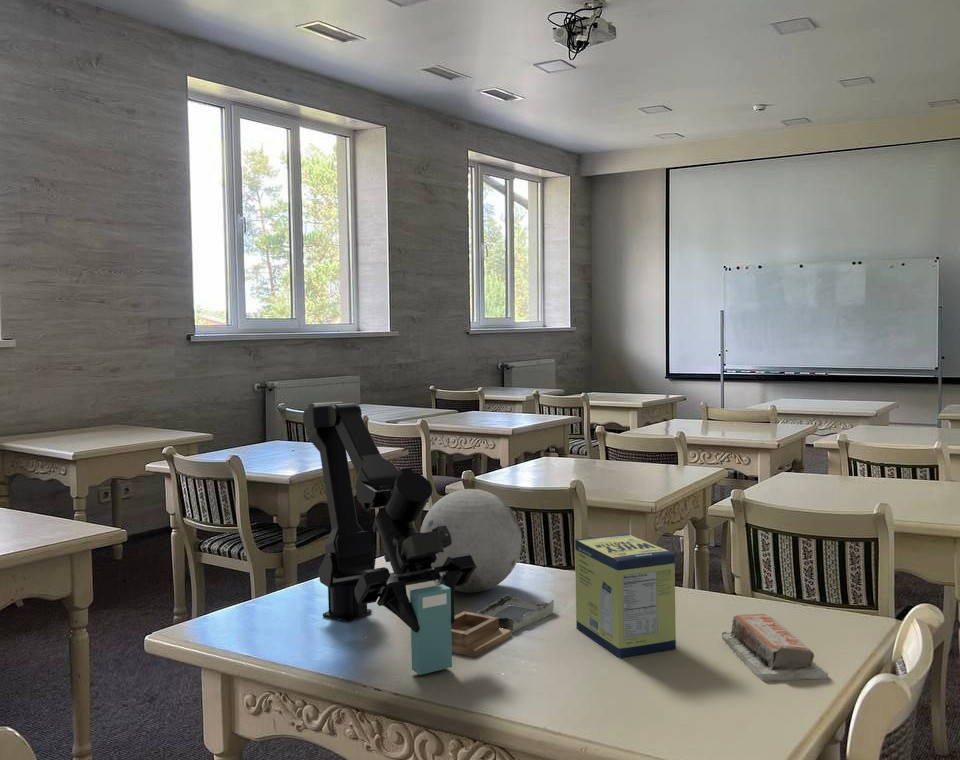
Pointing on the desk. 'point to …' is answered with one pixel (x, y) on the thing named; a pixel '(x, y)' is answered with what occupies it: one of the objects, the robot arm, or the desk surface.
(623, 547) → the protein box
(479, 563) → the moon model
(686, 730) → the desk surface
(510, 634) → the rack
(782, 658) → the packaged product
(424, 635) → the teal labeled box
